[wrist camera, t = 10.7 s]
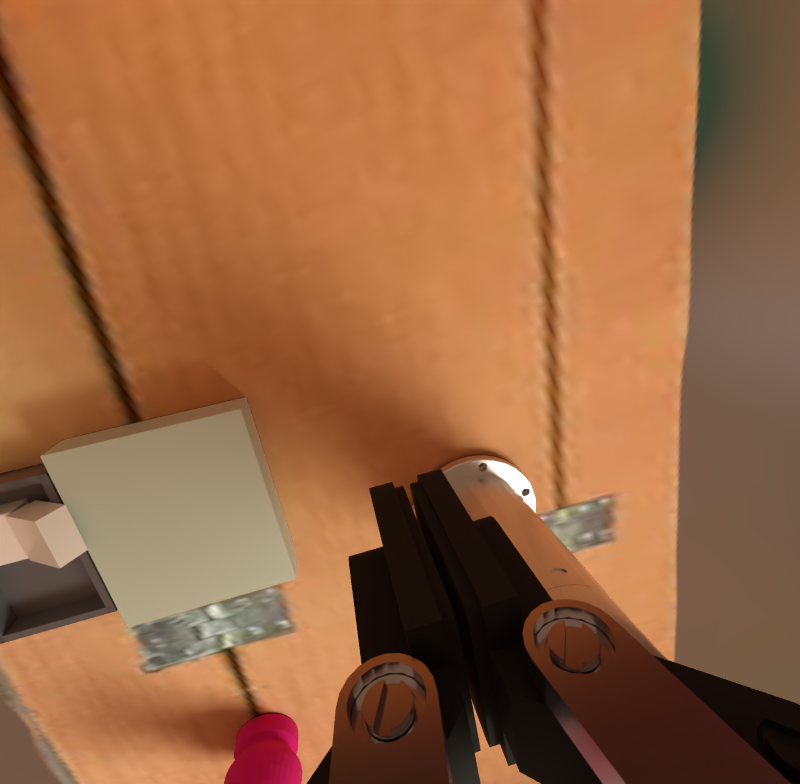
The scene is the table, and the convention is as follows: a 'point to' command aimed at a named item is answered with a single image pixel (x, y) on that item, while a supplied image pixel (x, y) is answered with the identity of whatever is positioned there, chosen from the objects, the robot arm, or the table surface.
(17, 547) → the tile rear
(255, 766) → the pepper mill
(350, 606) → the table surface
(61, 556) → the tile front
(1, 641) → the box
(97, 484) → the beige flat slab
